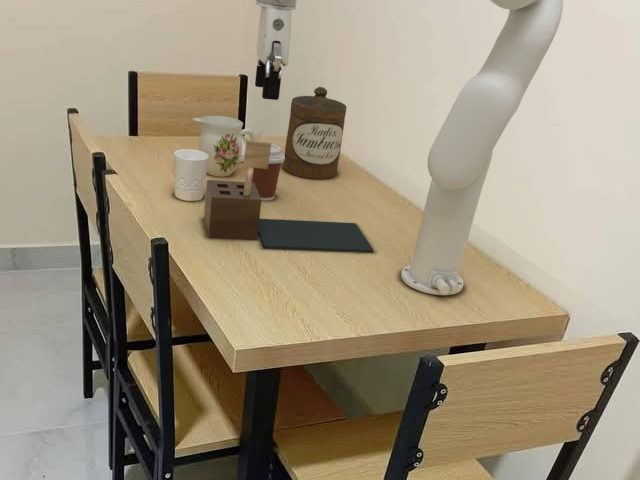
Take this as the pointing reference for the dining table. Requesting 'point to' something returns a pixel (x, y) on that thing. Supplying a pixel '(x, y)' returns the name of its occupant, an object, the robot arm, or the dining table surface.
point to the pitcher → (222, 143)
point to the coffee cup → (269, 174)
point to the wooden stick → (255, 160)
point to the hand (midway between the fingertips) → (266, 92)
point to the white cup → (190, 174)
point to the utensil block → (231, 210)
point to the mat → (312, 235)
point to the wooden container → (314, 136)
